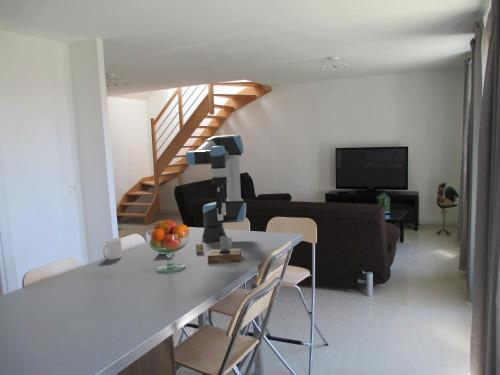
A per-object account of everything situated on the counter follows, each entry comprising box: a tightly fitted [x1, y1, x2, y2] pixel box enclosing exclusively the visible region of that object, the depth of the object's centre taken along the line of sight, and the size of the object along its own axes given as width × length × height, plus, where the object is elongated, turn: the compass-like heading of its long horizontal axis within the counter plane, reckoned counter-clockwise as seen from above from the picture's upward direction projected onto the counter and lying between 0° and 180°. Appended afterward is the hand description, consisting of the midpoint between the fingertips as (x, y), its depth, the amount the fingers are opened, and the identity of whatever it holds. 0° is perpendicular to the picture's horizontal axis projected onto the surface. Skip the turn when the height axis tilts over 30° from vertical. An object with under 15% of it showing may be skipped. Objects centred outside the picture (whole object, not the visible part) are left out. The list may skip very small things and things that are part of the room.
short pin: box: [195, 242, 205, 255], centre depth 226 cm, size 4×4×5 cm
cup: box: [102, 237, 123, 261], centre depth 224 cm, size 8×12×10 cm
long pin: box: [219, 235, 229, 254], centre depth 209 cm, size 4×4×12 cm
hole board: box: [207, 248, 243, 265], centre depth 209 cm, size 12×16×4 cm
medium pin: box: [227, 235, 233, 249], centre depth 225 cm, size 4×4×8 cm
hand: (222, 217), depth 210 cm, fingers open, 13 cm apart
